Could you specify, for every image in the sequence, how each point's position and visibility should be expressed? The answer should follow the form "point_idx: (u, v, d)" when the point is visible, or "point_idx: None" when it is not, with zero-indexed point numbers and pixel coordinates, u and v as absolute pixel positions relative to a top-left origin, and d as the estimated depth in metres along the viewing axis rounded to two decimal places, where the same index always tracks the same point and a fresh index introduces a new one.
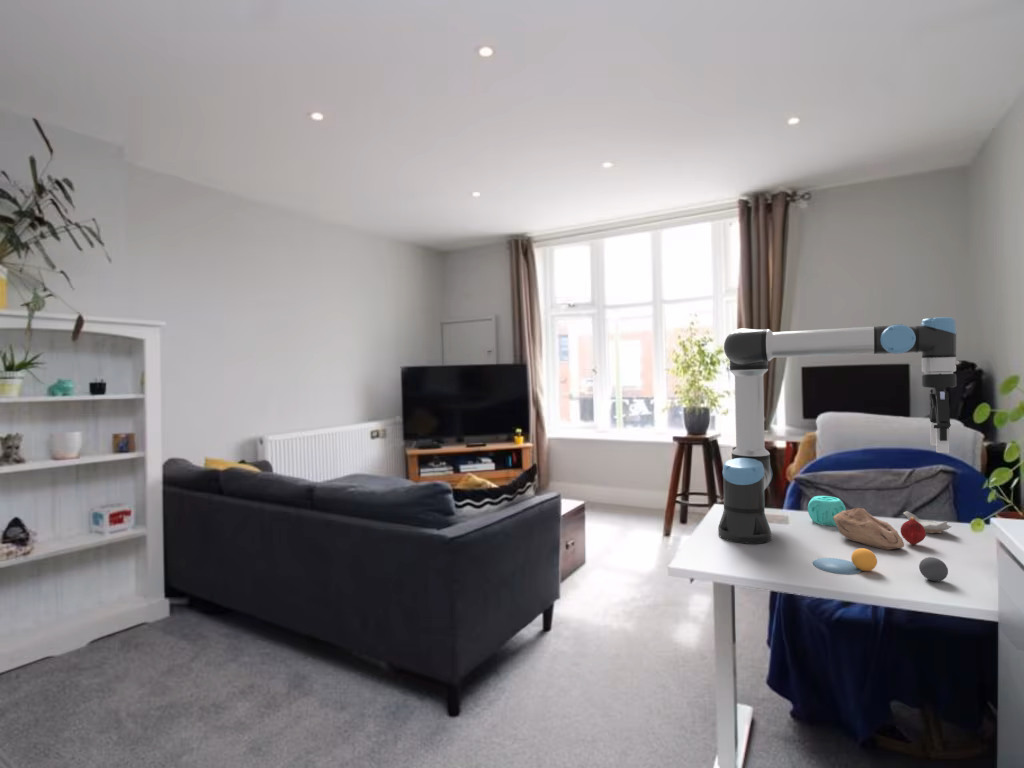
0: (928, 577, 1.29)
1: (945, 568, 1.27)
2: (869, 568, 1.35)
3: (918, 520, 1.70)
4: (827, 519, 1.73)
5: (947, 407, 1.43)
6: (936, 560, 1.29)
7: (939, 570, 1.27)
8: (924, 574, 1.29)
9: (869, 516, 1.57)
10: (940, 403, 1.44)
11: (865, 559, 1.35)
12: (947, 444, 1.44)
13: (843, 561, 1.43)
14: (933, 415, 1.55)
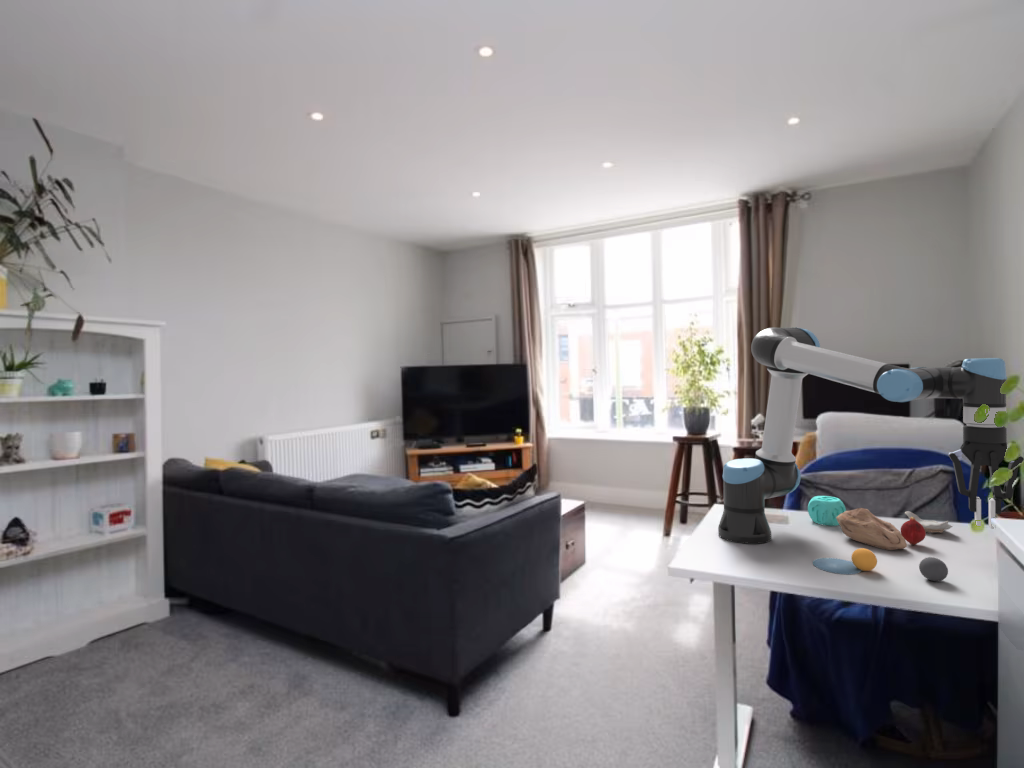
0: (928, 577, 1.29)
1: (945, 568, 1.27)
2: (869, 568, 1.35)
3: (919, 520, 1.70)
4: (827, 519, 1.73)
5: None
6: (936, 560, 1.29)
7: (939, 570, 1.27)
8: (924, 574, 1.29)
9: (872, 516, 1.56)
10: None
11: (865, 559, 1.35)
12: None
13: (843, 561, 1.43)
14: None
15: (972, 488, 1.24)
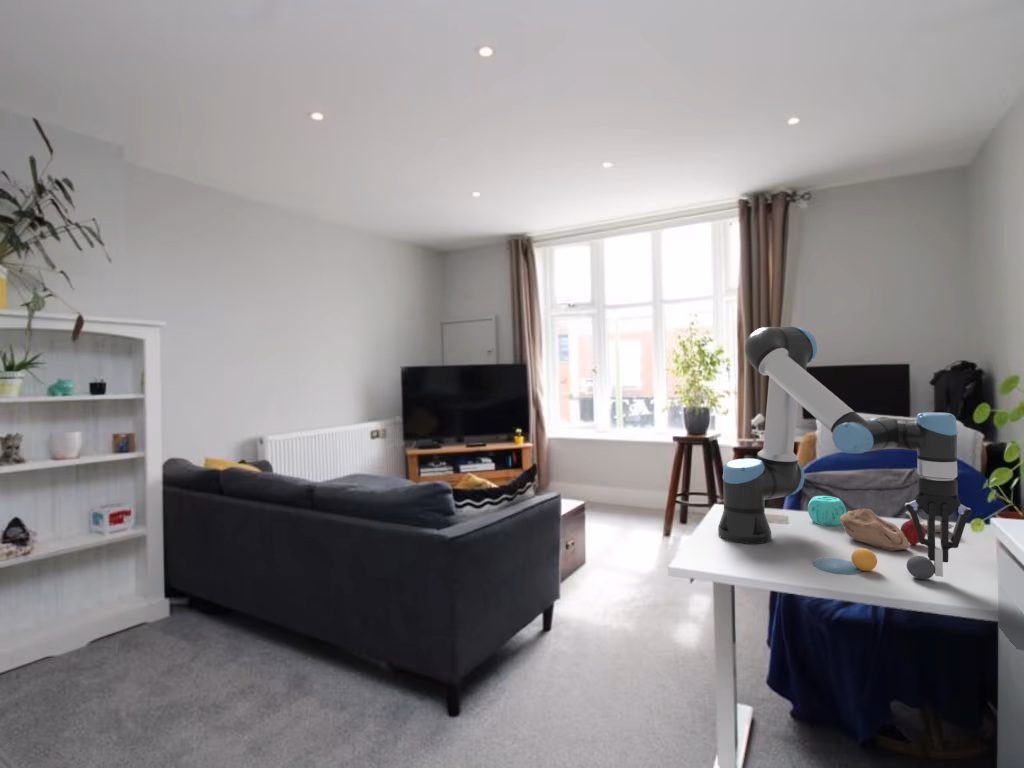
0: (920, 577, 1.30)
1: (928, 562, 1.29)
2: (869, 568, 1.35)
3: (921, 519, 1.70)
4: (827, 519, 1.73)
5: None
6: (916, 558, 1.31)
7: (923, 567, 1.29)
8: (915, 576, 1.30)
9: (875, 517, 1.56)
10: None
11: (865, 559, 1.35)
12: None
13: (843, 561, 1.43)
14: (934, 534, 1.29)
15: (930, 538, 1.29)
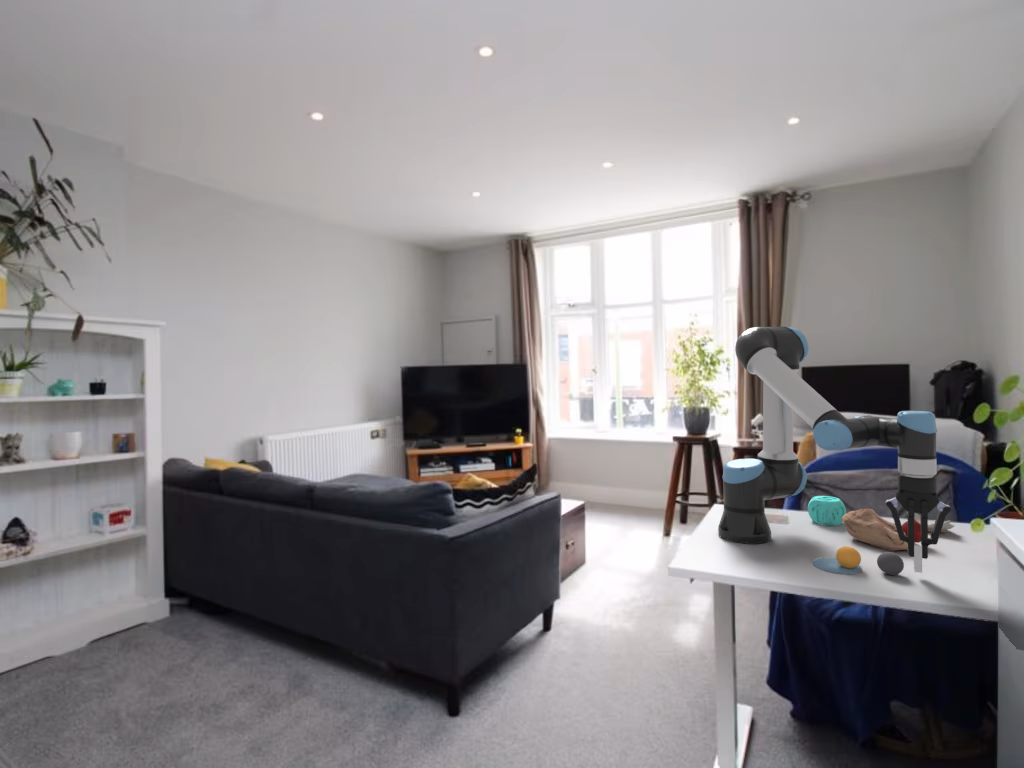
0: (899, 563, 1.32)
1: (879, 562, 1.34)
2: (856, 558, 1.36)
3: None
4: (827, 519, 1.73)
5: None
6: (882, 570, 1.34)
7: (885, 566, 1.33)
8: (901, 567, 1.32)
9: (877, 517, 1.56)
10: (943, 519, 1.28)
11: (844, 557, 1.37)
12: None
13: None
14: None
15: (909, 535, 1.31)
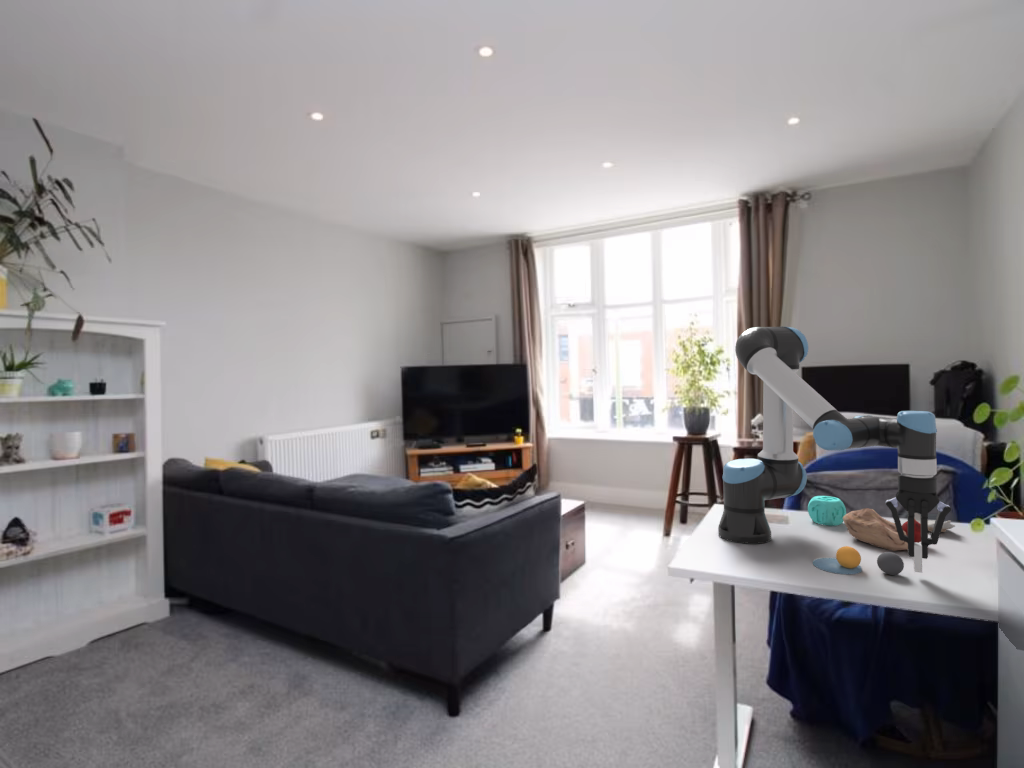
0: (899, 563, 1.32)
1: (879, 562, 1.34)
2: (856, 558, 1.36)
3: None
4: (827, 519, 1.73)
5: None
6: (882, 570, 1.34)
7: (885, 566, 1.33)
8: (901, 567, 1.32)
9: (878, 517, 1.56)
10: (943, 519, 1.28)
11: (844, 557, 1.37)
12: None
13: None
14: None
15: (909, 535, 1.31)
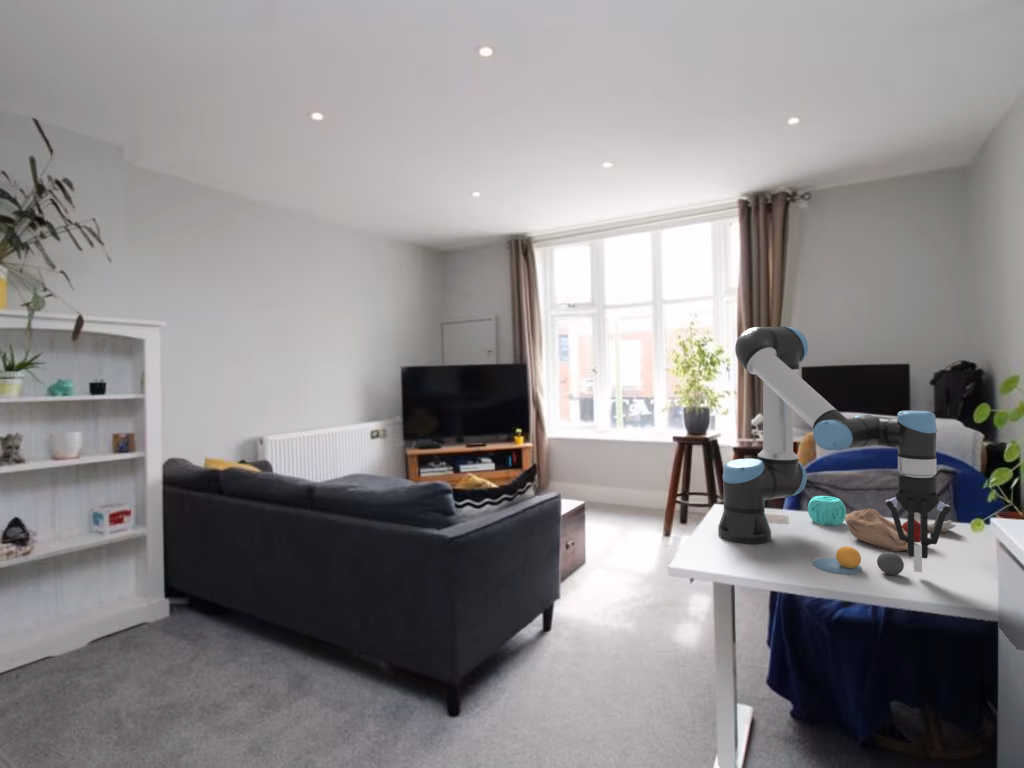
0: (899, 563, 1.32)
1: (879, 562, 1.34)
2: (856, 558, 1.36)
3: None
4: (827, 519, 1.73)
5: None
6: (882, 570, 1.34)
7: (885, 566, 1.33)
8: (901, 567, 1.32)
9: (879, 517, 1.55)
10: (943, 519, 1.28)
11: (844, 557, 1.37)
12: None
13: None
14: None
15: (909, 534, 1.31)
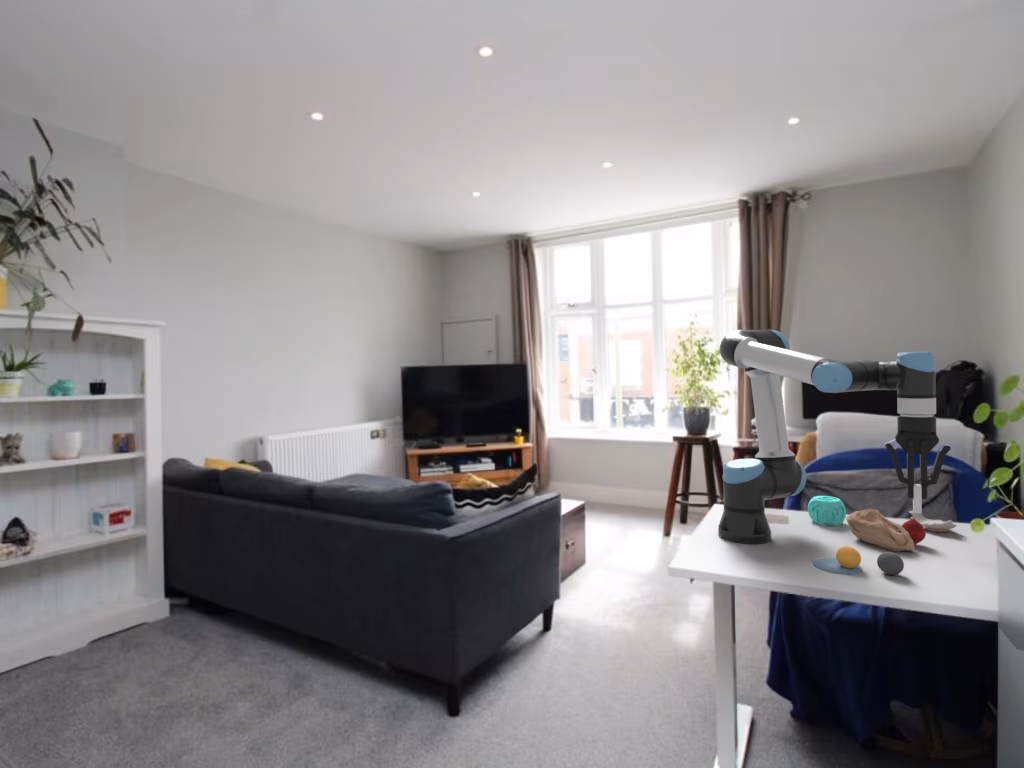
0: (899, 563, 1.32)
1: (879, 562, 1.34)
2: (856, 558, 1.36)
3: (924, 519, 1.71)
4: (827, 519, 1.73)
5: None
6: (882, 570, 1.34)
7: (885, 566, 1.33)
8: (901, 567, 1.32)
9: (881, 517, 1.55)
10: None
11: (844, 557, 1.37)
12: None
13: None
14: (913, 471, 1.30)
15: (909, 476, 1.30)
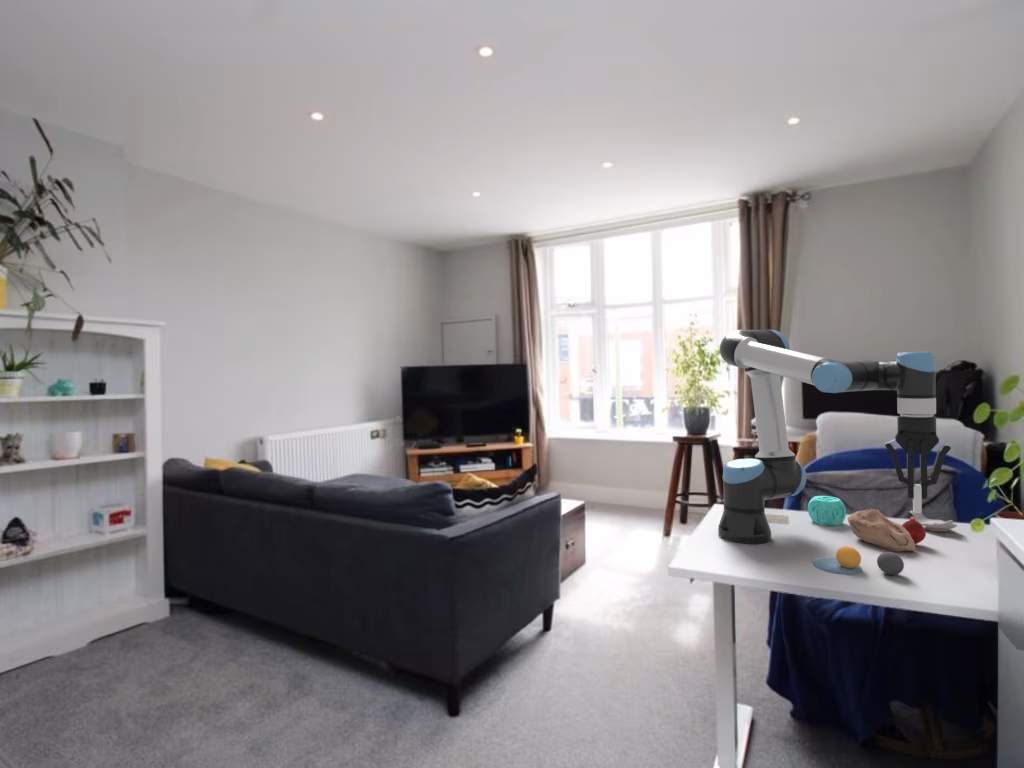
0: (899, 563, 1.32)
1: (879, 562, 1.34)
2: (856, 558, 1.36)
3: (925, 519, 1.71)
4: (827, 519, 1.73)
5: None
6: (882, 570, 1.34)
7: (885, 566, 1.33)
8: (901, 567, 1.32)
9: (882, 517, 1.55)
10: None
11: (844, 557, 1.37)
12: None
13: None
14: (913, 471, 1.30)
15: (909, 476, 1.30)
